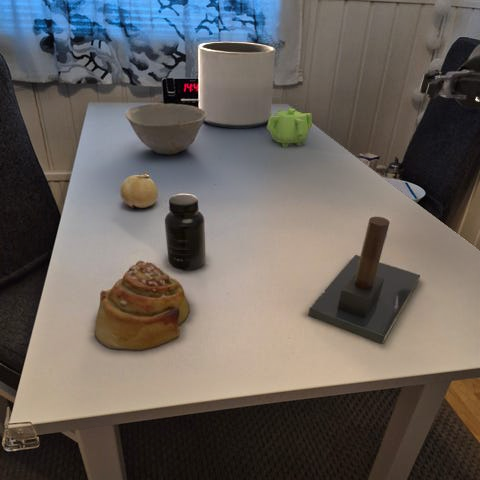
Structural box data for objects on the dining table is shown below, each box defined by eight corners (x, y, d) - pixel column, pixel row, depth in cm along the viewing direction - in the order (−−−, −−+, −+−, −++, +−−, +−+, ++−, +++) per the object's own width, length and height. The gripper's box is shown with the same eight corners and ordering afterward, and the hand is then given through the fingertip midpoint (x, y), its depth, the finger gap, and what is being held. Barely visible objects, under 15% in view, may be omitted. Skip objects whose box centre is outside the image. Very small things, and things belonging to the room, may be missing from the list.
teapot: (311, 140, 141) (315, 107, 135) (301, 150, 133) (305, 115, 127) (276, 135, 145) (278, 102, 138) (264, 144, 136) (266, 110, 130)
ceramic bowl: (116, 159, 121) (111, 120, 115) (145, 135, 139) (142, 100, 133) (195, 167, 119) (194, 127, 113) (214, 141, 137) (214, 106, 131)
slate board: (353, 261, 83) (355, 254, 82) (418, 282, 78) (420, 274, 77) (308, 315, 70) (309, 307, 69) (382, 344, 65) (384, 336, 64)
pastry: (193, 292, 73) (192, 249, 68) (180, 353, 62) (177, 307, 57) (113, 287, 73) (106, 244, 69) (85, 348, 62) (74, 302, 57)
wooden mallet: (353, 287, 74) (372, 208, 65) (379, 296, 72) (402, 216, 63) (337, 308, 69) (355, 225, 60) (364, 318, 67) (387, 234, 58)
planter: (231, 134, 143) (233, 55, 129) (184, 117, 157) (181, 44, 144) (285, 122, 157) (292, 49, 143) (237, 107, 171) (239, 40, 158)
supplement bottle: (178, 249, 84) (174, 188, 77) (211, 256, 83) (211, 194, 75) (161, 267, 79) (155, 203, 72) (196, 275, 77) (194, 210, 70)
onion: (139, 215, 95) (135, 183, 90) (114, 205, 98) (110, 173, 94) (166, 204, 100) (163, 172, 96) (141, 194, 104) (138, 164, 99)
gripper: (444, 48, 73) (420, 58, 62) (541, 57, 68) (532, 70, 57) (431, 97, 78) (406, 115, 67) (520, 110, 72) (509, 132, 61)
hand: (464, 94), depth 62 cm, fingers open, 8 cm apart
